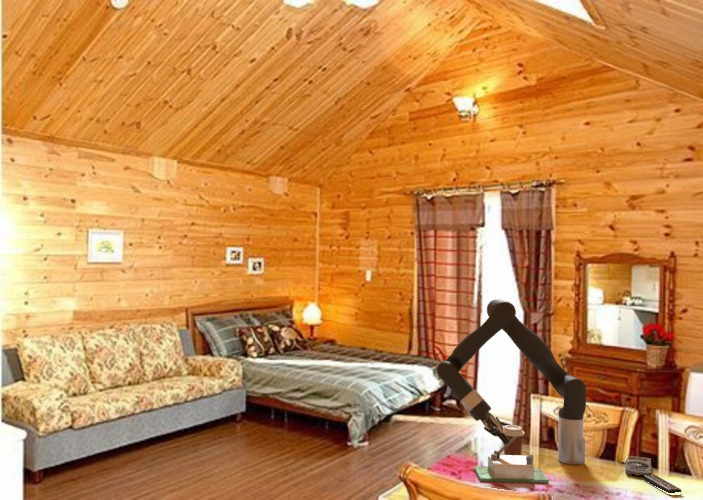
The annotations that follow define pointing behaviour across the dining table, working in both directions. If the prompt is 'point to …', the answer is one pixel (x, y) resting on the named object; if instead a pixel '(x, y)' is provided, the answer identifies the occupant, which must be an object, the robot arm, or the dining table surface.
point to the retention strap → (506, 445)
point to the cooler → (510, 469)
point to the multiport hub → (661, 483)
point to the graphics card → (638, 466)
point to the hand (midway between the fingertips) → (507, 442)
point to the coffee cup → (516, 445)
